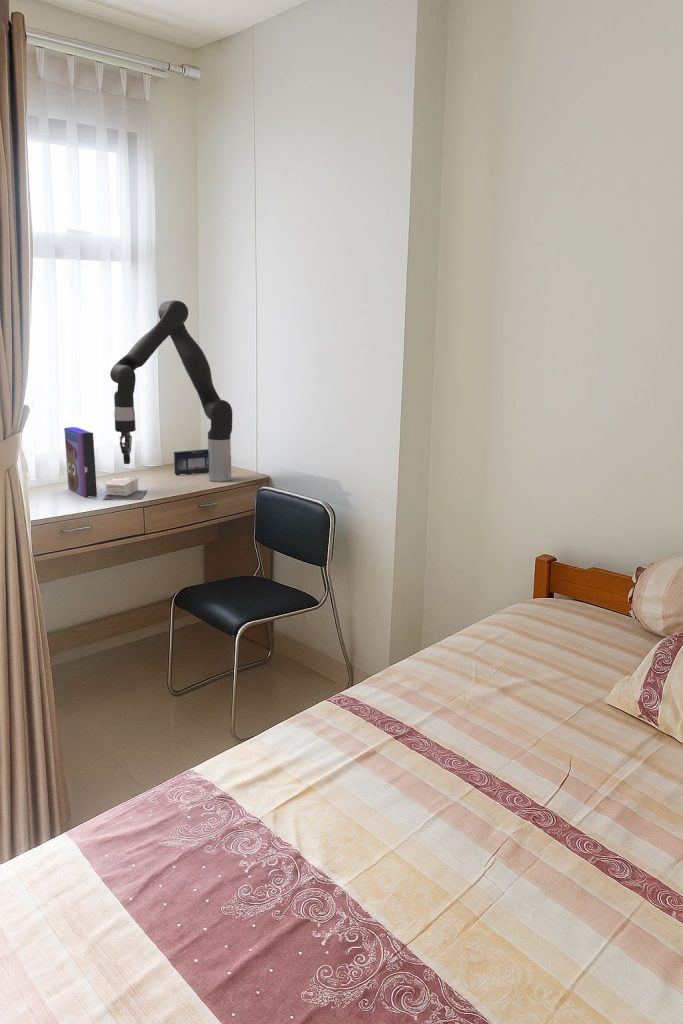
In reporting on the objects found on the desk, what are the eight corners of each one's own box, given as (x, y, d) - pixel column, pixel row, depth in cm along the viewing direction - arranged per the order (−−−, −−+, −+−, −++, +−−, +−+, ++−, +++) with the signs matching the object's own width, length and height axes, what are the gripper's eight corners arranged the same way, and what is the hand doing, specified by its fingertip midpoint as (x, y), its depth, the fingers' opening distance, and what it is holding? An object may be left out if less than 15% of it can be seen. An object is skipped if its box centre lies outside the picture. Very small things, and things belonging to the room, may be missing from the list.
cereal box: (68, 488, 302) (64, 427, 296) (80, 487, 305) (76, 426, 299) (84, 497, 289) (80, 433, 283) (97, 495, 292) (93, 432, 286)
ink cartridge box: (117, 489, 302) (102, 496, 288) (116, 477, 301) (101, 483, 287) (138, 490, 301) (124, 497, 287) (138, 477, 300) (124, 484, 286)
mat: (147, 491, 301) (146, 490, 301) (141, 499, 287) (141, 498, 287) (109, 491, 299) (109, 490, 299) (102, 500, 286) (102, 498, 286)
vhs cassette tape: (176, 475, 330) (175, 452, 328) (174, 474, 333) (173, 451, 330) (217, 472, 339) (216, 449, 337) (214, 471, 342) (214, 448, 339)
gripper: (132, 421, 288) (134, 467, 292) (137, 416, 301) (139, 460, 305) (111, 420, 287) (113, 467, 292) (117, 416, 300) (120, 460, 305)
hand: (127, 463), depth 299 cm, fingers closed
